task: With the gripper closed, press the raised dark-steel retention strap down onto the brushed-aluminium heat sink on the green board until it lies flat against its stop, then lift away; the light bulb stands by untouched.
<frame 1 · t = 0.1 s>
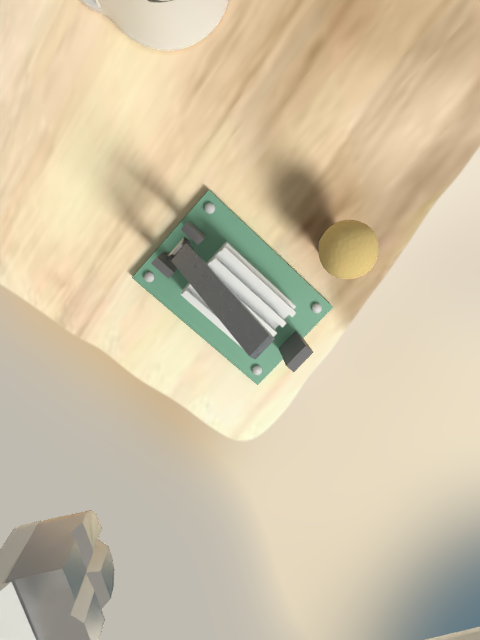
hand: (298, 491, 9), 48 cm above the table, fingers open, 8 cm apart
board: (182, 245, 55), on the table
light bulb: (331, 245, 56), on the table
strap: (214, 291, 43), point 13 cm above the table, hinge at 50.0°
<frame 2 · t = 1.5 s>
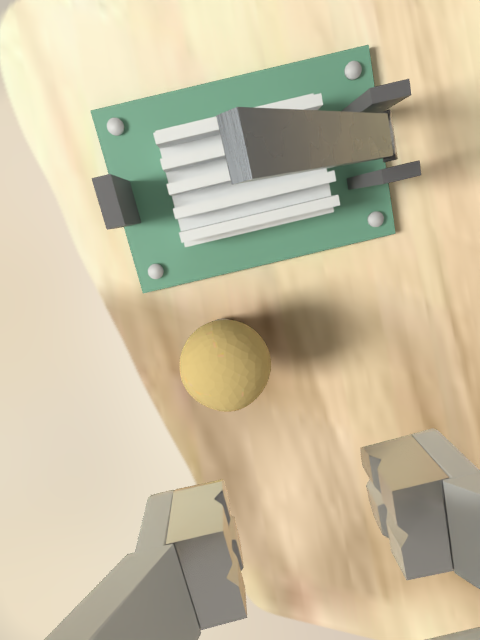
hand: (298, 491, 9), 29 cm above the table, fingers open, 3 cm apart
board: (354, 151, 35), on the table
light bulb: (223, 337, 39), on the table
strap: (333, 140, 23), point 13 cm above the table, hinge at 50.0°
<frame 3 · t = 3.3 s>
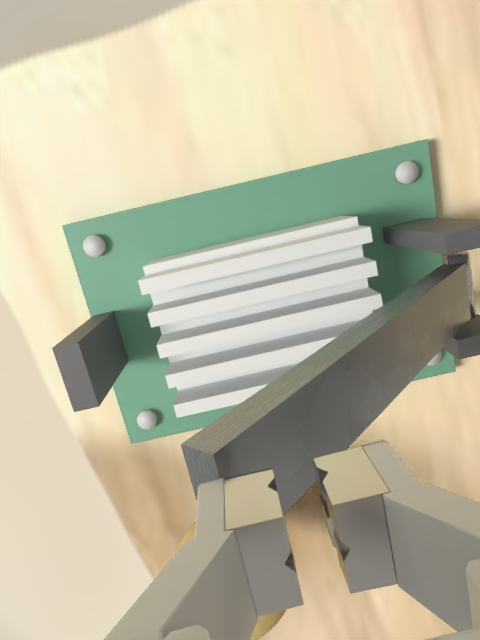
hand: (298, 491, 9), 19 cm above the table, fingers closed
board: (404, 268, 27), on the table
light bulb: (232, 489, 31), on the table
strap: (386, 351, 15), point 13 cm above the table, hinge at 46.0°, touching gripper
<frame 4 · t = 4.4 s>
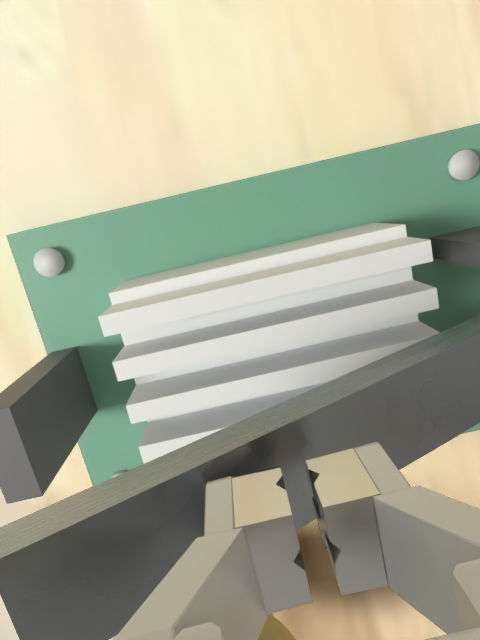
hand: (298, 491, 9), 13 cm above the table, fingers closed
board: (454, 289, 21), on the table
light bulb: (232, 564, 25), on the table
strap: (371, 421, 11), point 10 cm above the table, hinge at 24.6°, touching gripper
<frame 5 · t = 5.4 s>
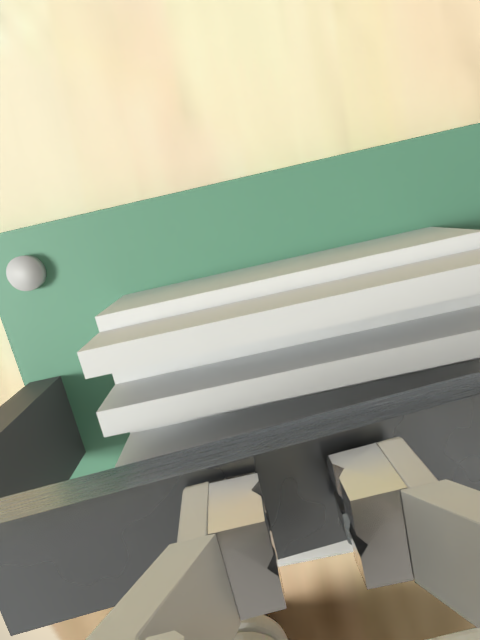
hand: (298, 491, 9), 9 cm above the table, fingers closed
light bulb: (246, 631, 21), on the table
strap: (386, 460, 10), point 8 cm above the table, hinge at 6.0°, touching gripper
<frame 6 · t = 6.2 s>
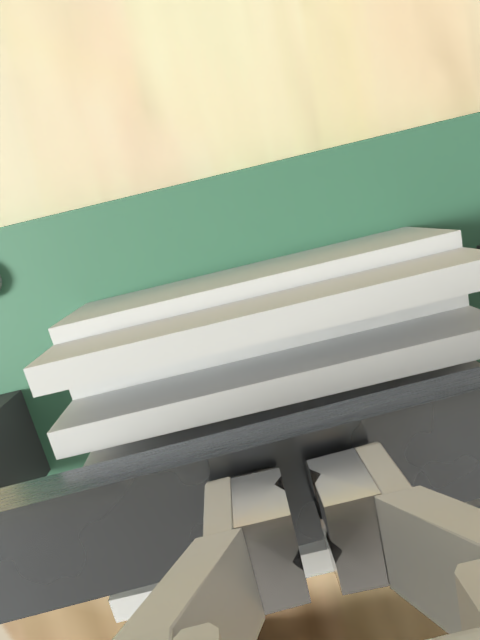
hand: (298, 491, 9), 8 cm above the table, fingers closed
strap: (348, 464, 10), point 7 cm above the table, hinge at 1.9°
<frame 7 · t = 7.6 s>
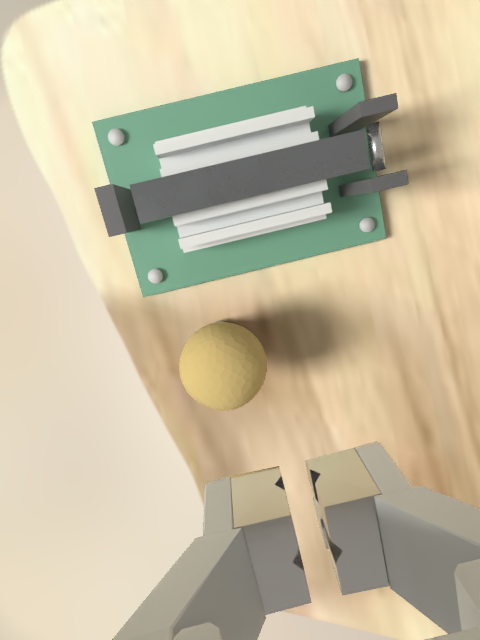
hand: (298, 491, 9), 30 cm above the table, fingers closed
board: (345, 159, 37), on the table
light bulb: (221, 339, 40), on the table
strap: (260, 174, 30), point 7 cm above the table, hinge at 1.9°
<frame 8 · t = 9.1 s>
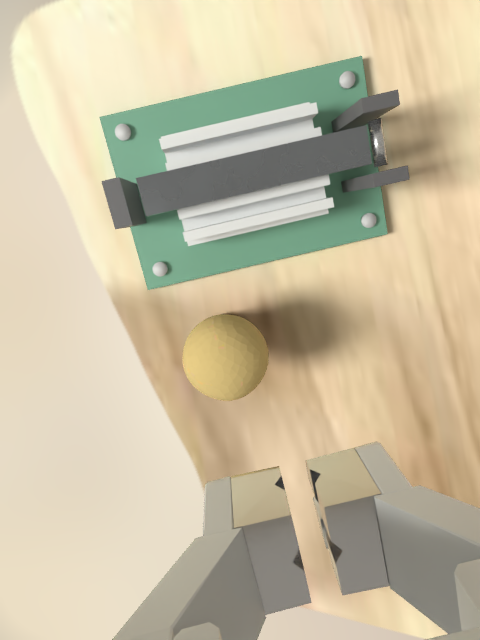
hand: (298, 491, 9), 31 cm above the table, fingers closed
board: (348, 155, 37), on the table
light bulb: (223, 332, 41), on the table
strap: (264, 169, 30), point 7 cm above the table, hinge at 1.9°
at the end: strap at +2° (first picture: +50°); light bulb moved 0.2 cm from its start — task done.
